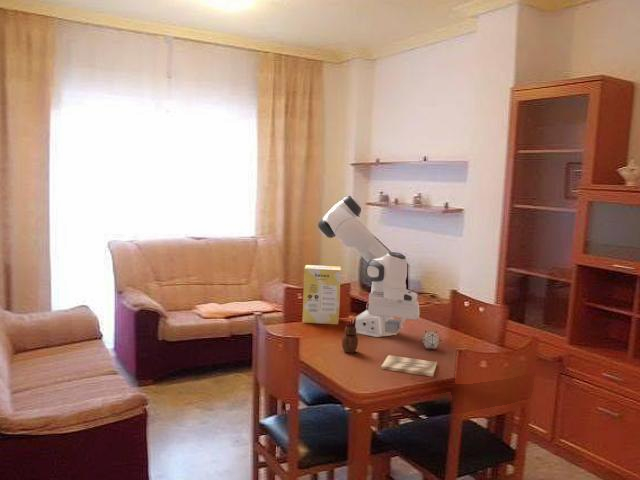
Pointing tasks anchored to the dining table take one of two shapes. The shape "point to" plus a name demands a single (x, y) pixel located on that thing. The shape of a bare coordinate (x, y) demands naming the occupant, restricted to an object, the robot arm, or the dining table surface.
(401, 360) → the board
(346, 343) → the wooden figurine
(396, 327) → the sanding block
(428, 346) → the grey spiky ball
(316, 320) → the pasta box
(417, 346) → the dining table surface
